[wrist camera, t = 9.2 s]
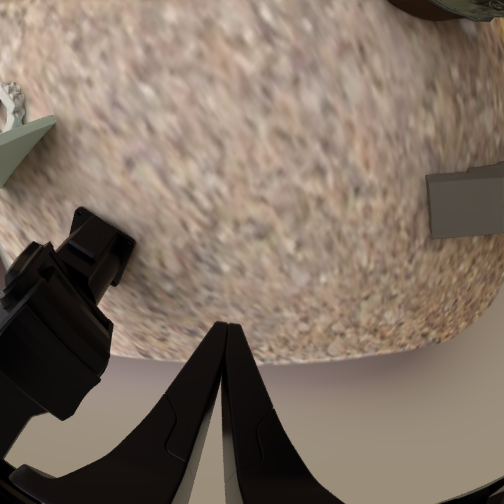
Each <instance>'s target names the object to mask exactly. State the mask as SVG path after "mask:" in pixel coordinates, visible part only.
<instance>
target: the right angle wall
mask: <svg viewBox="0 0 504 504" xmlns="http://www.w3.org/2000/svg"><path fill="white" fill-rule="evenodd" d="M20 88H21V86H20V85H15V84H14V82H12V83H11V84H10V85H8V84H7V82H6V81H5V82H1V83H0V100H1V101H2V102H3V104H4V105H5V107H6V108H7V123H6V125H5V128H4V130H3V133H2V132H0V189H1V188H2V187H3V185H4V184H5V183H6V181H7V180H8V178H9V177H10V176H11V174H12V173H13V172H14V170H15V169H16V168H17V166H18V165H19V164H20V163H21V161H22V160H23V159H24V158H25V156H26V155H27V154H28V153H29V152H30V150H31V149H32V148H33V147H34V146H35V145H36V144H37V142H38V141H39V140H40V139H41V138H42V137H43V136H44V135H45V134H46V132H47V131H48V130H49V129H50V128H51V127H52V126H53V125H54V124H55V123H56V121H55V119H54V117H53V115H50V116H47V117H43V118H41V119H38V120H35V121H32V122H29V123H27V124H24V125H23V123H22V117H23V115H24V114H25V110H24V107H23V103H24V95H23V94H21V95H19V93H20Z"/></svg>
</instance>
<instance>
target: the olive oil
mask: <svg viewBox="0 0 504 504" xmlns="http://www.w3.org/2000/svg"><path fill="white" fill-rule="evenodd" d="M388 1H389V2H391V3H392V4H394V5H395V6H397V7H398V8H400V9H402V10H403V11H405V12H407V13H409V14H411V15H414V16H416V17H419V18H422V19H426V20H433V21H443V20H451V19H460V18H466V19H467V18H468V20H471V21H472V20H473V21H476V22H477V21H482V22H491V20H492V19H493V18H494V17H504V0H388Z"/></svg>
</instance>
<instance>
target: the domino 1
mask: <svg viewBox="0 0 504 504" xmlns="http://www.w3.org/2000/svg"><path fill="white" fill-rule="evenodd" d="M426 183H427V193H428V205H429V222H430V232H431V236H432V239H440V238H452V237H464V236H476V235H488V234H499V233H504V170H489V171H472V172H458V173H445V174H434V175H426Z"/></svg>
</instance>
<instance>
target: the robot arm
mask: <svg viewBox="0 0 504 504" xmlns="http://www.w3.org/2000/svg"><path fill="white" fill-rule="evenodd" d="M80 212H81V214H80ZM128 242H129V243H131V245H130V244H129V243H128ZM135 244H136V243H135V240H134V239H133V238H131V237H129V236H128V235H126V234H124V233H123V232H121V231H119V230H118V229H116V228H115V227H113V226H111V225H110V224H108V223H106V222H105V221H103V220H102V219H100V218H98V217H97V216H95V215H94V214H92V213H90V212H89V211H87V210H86V209H84V208H82V207H79V208H77V209H76V210H75V213H74V217H73V221H72V226H71V230H70V235H69V237H68V238H67V239H66V240H65V241H64V242H63V243H62V244H61V245H60V246H59V248H58V249H57V250H56V251H55V250H54V249H53V245H52V244H51V242H50V241H49V242H48V243H46V244H45V245H41V244H38V243H36V242H34V241H33V242H31V243H30V244H29V245H28V246H27V247H26V248H25V249H24V250H23V251H22V252H21V253H20V255H19V256H18V257H17V258H16V259H15V261H14V262H13V264H12V265H11V267H10V268H9V270H8V271H7V273H6V274H5V283H4V285H3V288H2V290H1V292H0V303H1V304H0V504H188V502H189V499H190V495H191V491H192V487H193V484H194V480H195V476H196V472H197V469H198V465H199V461H200V457H201V454H202V449H203V446H204V442H205V438H206V435H207V431H208V427H209V423H210V419H211V416H212V412H213V408H214V405H215V401H216V397H217V393H218V389H219V385H220V381H221V405H222V438H223V462H224V481H225V496H226V504H345V503H344V502H342V501H341V500H339V499H338V498H337V497H336V496H334V495H333V494H332V493H330V492H329V491H328V490H327V489H325V488H324V487H323V486H322V485H321V484H320V483H319V482H318V481H317V480H316V479H315V478H314V477H313V475H312V474H311V473H310V471H309V470H308V468H307V467H306V465H305V464H304V462H303V461H302V459H301V457H300V456H299V454H298V453H297V451H296V450H295V448H294V446H293V445H292V443H291V441H290V440H289V438H288V436H287V434H286V433H285V431H284V429H283V427H282V425H281V422H280V420H279V418H278V416H277V414H276V411H275V409H273V404H272V402H271V399H270V397H269V395H268V392H267V390H266V387H265V385H264V382H263V380H262V378H261V375H260V373H259V370H258V368H257V365H256V363H255V360H254V358H253V355H252V352H251V350H250V347H249V345H248V342H247V340H246V337H245V334H244V332H243V329H242V327H241V325H240V324H235V323H229V324H228V323H227V322H221V321H216V322H215V323H214V325H213V326H212V327H211V329H210V330H209V332H208V333H207V334H206V336H205V337H204V339H203V340H202V341H201V343H200V344H199V346H198V347H197V349H196V350H195V351H194V353H193V354H192V356H191V357H190V358H189V360H188V361H187V363H186V364H185V365H184V367H183V368H182V370H181V371H180V372H179V374H178V375H177V377H176V378H175V379H174V381H173V382H172V384H171V385H170V386H169V388H168V389H167V391H166V392H165V394H163V396H162V397H161V399H160V400H159V401H158V403H157V404H156V405H155V406H154V408H153V409H152V410H151V411H150V413H149V414H148V415H147V416H146V417H145V418H144V419H143V421H142V422H141V423H140V424H139V425H138V426H137V427H136V428H135V429H134V430H133V431H132V432H131V433H130V434H129V435H128V436H127V437H126V438H125V439H124V440H123V441H122V442H121V443H120V444H119V445H118V446H117V447H116V448H114V449H113V450H112V451H111V452H110V453H109V454H107V455H106V456H104V457H102V458H101V459H99V460H97V461H95V462H93V463H91V464H89V465H87V466H85V467H82V468H80V469H78V470H76V471H74V472H71V473H69V474H67V475H65V476H62V477H59V478H56V477H54V476H51V475H49V474H47V473H44V472H42V471H40V470H38V469H35V468H33V467H31V466H28V465H26V464H23V465H21V466H20V467H19V468H17V469H16V468H15V467H14V466H12V465H11V464H9V463H8V462H6V461H5V460H4V458H5V457H6V455H7V453H8V452H9V450H10V449H11V447H12V446H13V444H14V443H15V441H16V440H17V438H18V436H19V435H20V433H21V432H22V430H23V429H24V428H25V426H26V425H27V423H28V422H29V420H30V419H31V418H32V417H34V416H38V415H42V414H45V413H51V414H52V415H54V416H55V417H57V418H58V419H59V420H61V421H64V420H66V419H67V418H69V417H70V416H72V415H74V413H75V411H76V409H77V408H78V406H79V404H80V403H81V401H82V400H83V398H84V397H85V396H86V394H87V393H88V392H89V391H90V390H91V389H92V388H93V387H94V386H96V385H97V384H98V383H99V382H100V381H101V378H100V376H101V375H102V374H103V373H104V371H105V369H106V367H107V365H108V361H109V358H110V347H111V339H112V332H113V325H114V324H113V323H112V321H111V320H110V319H108V318H107V317H106V316H105V315H104V314H103V313H102V312H101V310H100V309H99V308H98V307H97V306H98V304H99V302H100V300H101V299H102V297H103V295H104V293H105V292H106V290H107V288H108V287H109V285H112V286H114V287H116V286H117V285H118V284H119V282H120V279H121V277H122V274H123V272H124V270H125V267H126V265H127V263H128V260H129V258H130V256H131V254H132V251H133V249H134V247H135ZM222 367H223V368H222ZM221 375H222V377H221ZM437 504H504V476H502V477H500V478H498V479H497V480H494V481H492V482H490V483H488V484H486V485H484V486H481V487H479V488H477V489H474V490H472V491H469V492H467V493H465V494H462V495H459V496H456V497H454V498H451V499H448V500H445V501H442V502H439V503H437Z"/></svg>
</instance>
